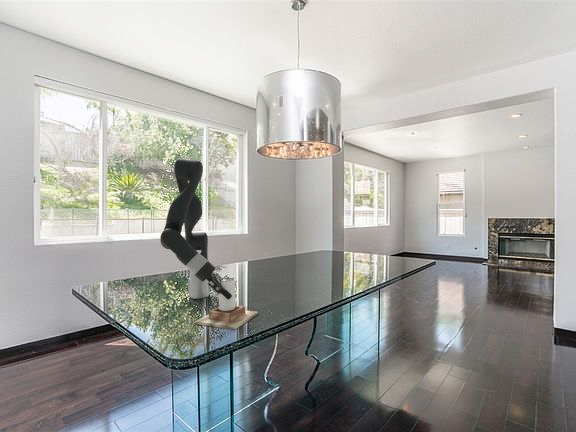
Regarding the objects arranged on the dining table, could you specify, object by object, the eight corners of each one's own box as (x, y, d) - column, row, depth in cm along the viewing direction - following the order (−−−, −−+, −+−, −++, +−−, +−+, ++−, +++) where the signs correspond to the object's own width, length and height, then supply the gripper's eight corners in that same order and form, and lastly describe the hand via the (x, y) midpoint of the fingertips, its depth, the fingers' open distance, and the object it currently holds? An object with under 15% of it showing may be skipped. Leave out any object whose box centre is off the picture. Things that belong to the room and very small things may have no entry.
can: (220, 307, 125) (219, 277, 125) (236, 306, 126) (235, 277, 126) (217, 312, 119) (217, 281, 119) (234, 311, 120) (234, 280, 120)
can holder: (194, 324, 118) (194, 313, 118) (221, 310, 134) (221, 301, 134) (235, 329, 111) (235, 318, 111) (257, 314, 128) (257, 304, 128)
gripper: (204, 263, 115) (236, 293, 116) (210, 258, 129) (238, 284, 130) (190, 277, 114) (222, 307, 115) (197, 271, 128) (226, 297, 130)
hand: (231, 295), depth 123 cm, fingers closed on can, 6 cm apart
